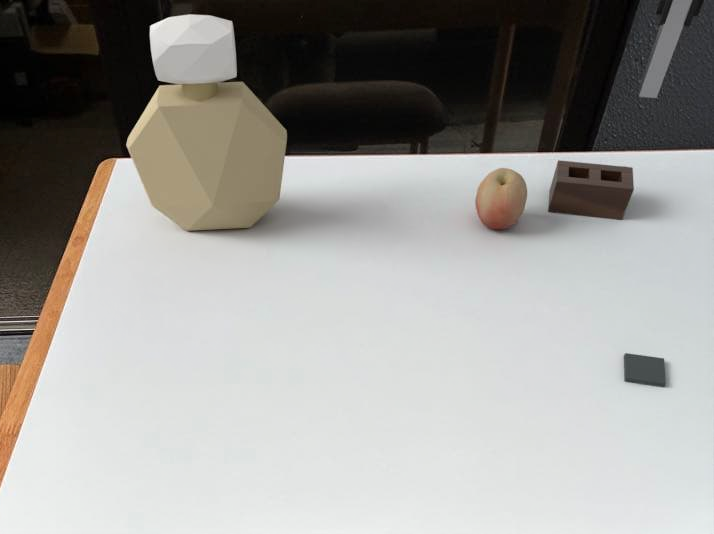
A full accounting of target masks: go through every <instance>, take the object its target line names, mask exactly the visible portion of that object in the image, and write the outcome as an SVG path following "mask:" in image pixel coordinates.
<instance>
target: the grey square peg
mask: <svg viewBox="0 0 714 534" xmlns="http://www.w3.org/2000/svg"><path fill="white" fill-rule="evenodd" d="M692 1H693V0H673V2H672V5H671V8H670V11H669V13H668V16H667V19H666V22H665V24H663V25H659V29H658V31H657V34H656V37H655V40H654V42H653V46H652V48H651V51H650V54H649V58H648V60H647V63H646V66H645V69H644V71H643V75H642V77H641V80H640V83H639V86H638V89H637V90H638V91H637V93H638V97H639V98H648V99H657V98H658V96H659V92H660V90H661V87H662V84H663V82H664V79H665V77H666V74H667V71H668V68H669V66H670V64H671V60H672V58H673V54H674V52H675V50H676V47H677V45H678V42H679V39H680V36H681V33H682V31H683V28H684V26H685V25H684V22H685V20H686V17H687V14H688V12H689V9H690V6H691V4H692Z"/></svg>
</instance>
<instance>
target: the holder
mask: <svg viewBox="0 0 714 534" xmlns="http://www.w3.org/2000/svg"><path fill="white" fill-rule="evenodd" d="M634 190H635V186H634V168H633V167H632V166H622V165H612V164H601V163H591V162H590V163H589V162H579V161H571V160H570V161H569V160H561V159H560V160H559V159H558V160H557V163H556V166H555V170H554V173H553V177H552V180H551V183H550V188H549V191H548V192H549V193H548V195H549V196H548V205H547V212H548V213H555V214H565V215H573V216H574V215H575V216H584V217H593V218H601V219H602V218H603V219H611V220H620V221H621V220H623V218H624V216H625V213H626V210H627V208H628V205H629V203H630V200H631V198H632V197H633V193H634Z"/></svg>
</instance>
